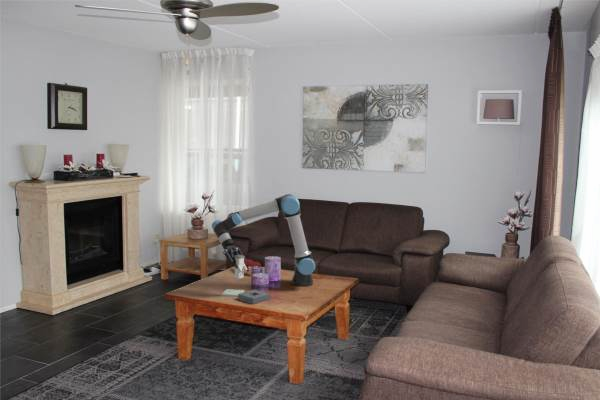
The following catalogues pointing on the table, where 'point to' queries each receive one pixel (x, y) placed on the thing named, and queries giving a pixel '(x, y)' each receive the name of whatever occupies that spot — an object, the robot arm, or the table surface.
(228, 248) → the robot arm
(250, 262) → the decorative bird sculpture
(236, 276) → the plug
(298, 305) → the table surface
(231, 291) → the pad
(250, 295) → the grey square socket block
